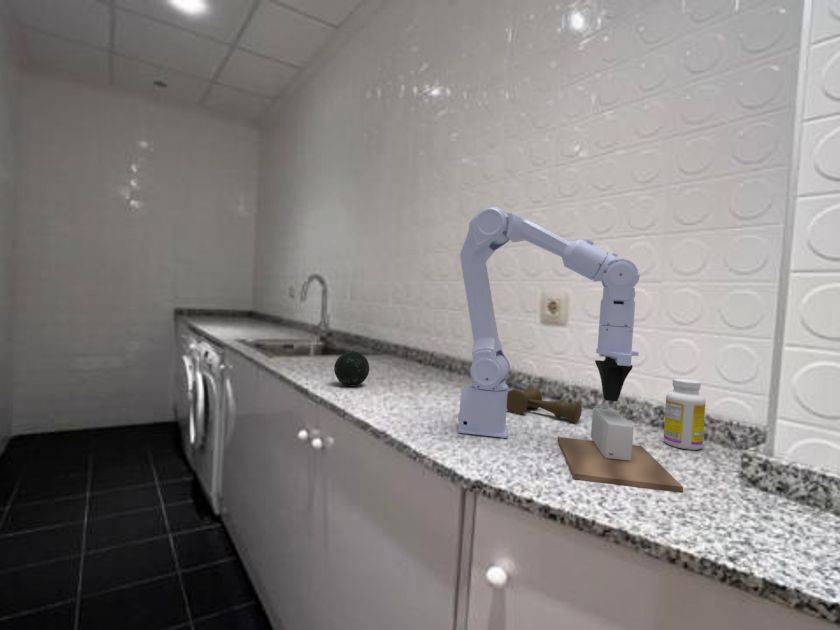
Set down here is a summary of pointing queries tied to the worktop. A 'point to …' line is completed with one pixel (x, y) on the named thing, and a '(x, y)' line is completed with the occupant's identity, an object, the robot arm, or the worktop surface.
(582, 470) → the walnut board
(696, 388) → the supplement bottle
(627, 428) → the skincare box
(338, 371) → the decorative stone
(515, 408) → the kendama
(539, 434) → the worktop surface
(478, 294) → the robot arm
